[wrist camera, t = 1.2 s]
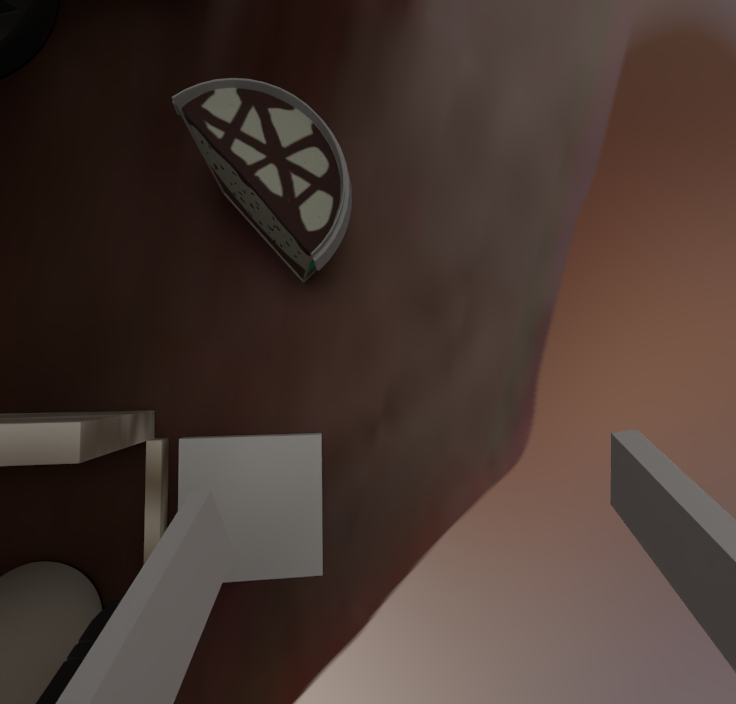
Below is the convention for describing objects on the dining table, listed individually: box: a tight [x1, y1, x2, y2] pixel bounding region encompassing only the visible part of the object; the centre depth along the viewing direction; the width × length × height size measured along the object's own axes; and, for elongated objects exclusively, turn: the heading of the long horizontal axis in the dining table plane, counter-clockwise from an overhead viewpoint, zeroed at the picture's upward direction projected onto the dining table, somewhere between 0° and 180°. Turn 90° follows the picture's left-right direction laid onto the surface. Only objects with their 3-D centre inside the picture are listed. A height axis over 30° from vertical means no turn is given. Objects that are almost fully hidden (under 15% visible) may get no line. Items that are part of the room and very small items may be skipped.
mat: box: [178, 433, 323, 583], centre depth 31 cm, size 10×10×1 cm
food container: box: [172, 78, 352, 284], centre depth 29 cm, size 12×6×10 cm, turn 42°
